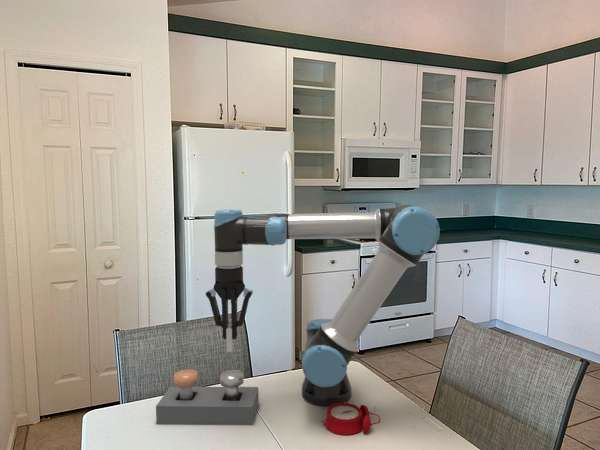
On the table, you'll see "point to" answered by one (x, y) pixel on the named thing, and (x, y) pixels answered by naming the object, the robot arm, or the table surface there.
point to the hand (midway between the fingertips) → (230, 350)
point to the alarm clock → (348, 419)
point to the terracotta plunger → (186, 383)
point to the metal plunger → (232, 383)
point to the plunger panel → (208, 407)
